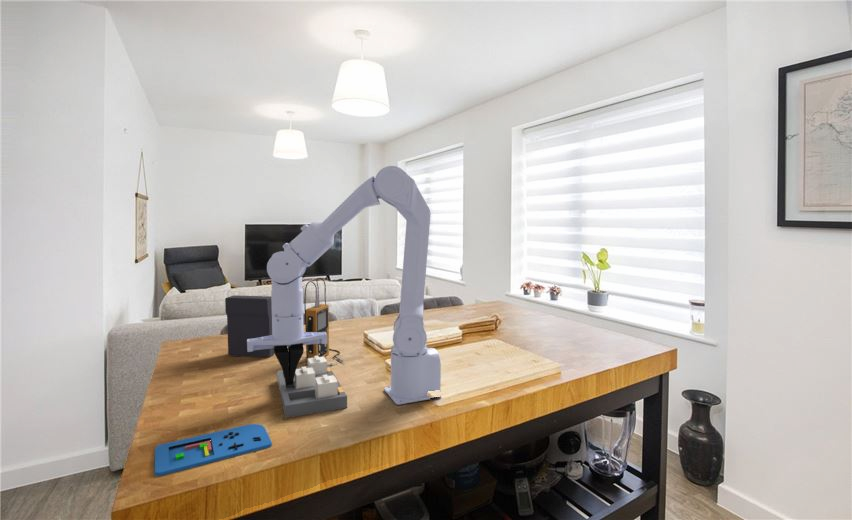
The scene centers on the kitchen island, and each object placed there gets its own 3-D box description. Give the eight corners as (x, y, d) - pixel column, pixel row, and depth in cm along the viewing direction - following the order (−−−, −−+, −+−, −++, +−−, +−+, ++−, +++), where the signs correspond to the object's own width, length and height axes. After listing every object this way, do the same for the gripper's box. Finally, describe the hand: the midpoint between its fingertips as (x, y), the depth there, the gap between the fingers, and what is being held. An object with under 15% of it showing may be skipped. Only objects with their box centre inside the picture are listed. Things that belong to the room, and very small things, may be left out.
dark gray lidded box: (276, 353, 107) (275, 295, 106) (268, 358, 103) (267, 298, 102) (236, 351, 109) (234, 294, 107) (226, 356, 104) (224, 297, 103)
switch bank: (328, 374, 93) (328, 364, 93) (347, 407, 76) (347, 395, 76) (277, 381, 89) (277, 370, 89) (285, 418, 72) (284, 405, 72)
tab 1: (312, 384, 84) (312, 364, 84) (315, 390, 81) (315, 370, 81) (294, 386, 83) (294, 367, 83) (296, 393, 80) (296, 373, 79)
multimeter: (338, 371, 95) (337, 284, 93) (298, 368, 97) (296, 282, 95) (361, 352, 109) (360, 276, 107) (325, 349, 111) (324, 275, 109)
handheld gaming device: (272, 441, 63) (154, 472, 55) (272, 448, 63) (154, 480, 55) (261, 419, 70) (155, 443, 62) (261, 425, 70) (155, 450, 62)
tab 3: (333, 392, 80) (333, 372, 80) (337, 400, 77) (337, 379, 77) (315, 395, 79) (314, 375, 78) (318, 403, 75) (318, 381, 75)
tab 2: (324, 372, 91) (324, 354, 91) (327, 377, 88) (327, 359, 88) (307, 374, 90) (307, 356, 89) (310, 380, 87) (310, 361, 86)
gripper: (322, 307, 86) (323, 371, 87) (246, 312, 80) (248, 381, 81) (329, 314, 80) (329, 383, 81) (246, 320, 74) (248, 394, 75)
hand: (289, 383), depth 81 cm, fingers closed
